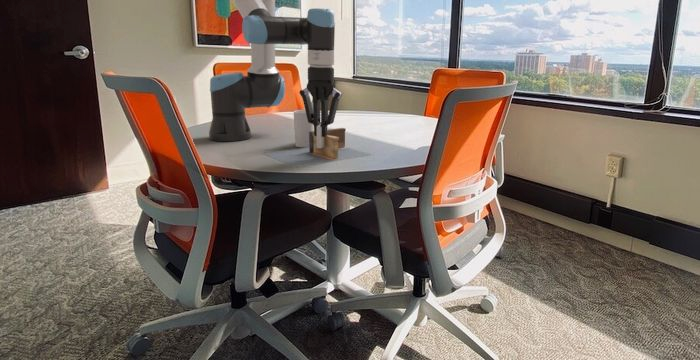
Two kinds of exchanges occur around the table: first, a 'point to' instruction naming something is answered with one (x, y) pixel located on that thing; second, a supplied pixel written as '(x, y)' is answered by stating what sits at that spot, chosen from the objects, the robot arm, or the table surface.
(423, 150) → the table surface
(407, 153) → the table surface
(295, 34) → the robot arm
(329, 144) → the wooden board
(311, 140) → the base
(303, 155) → the card
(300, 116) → the mug
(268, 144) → the table surface
